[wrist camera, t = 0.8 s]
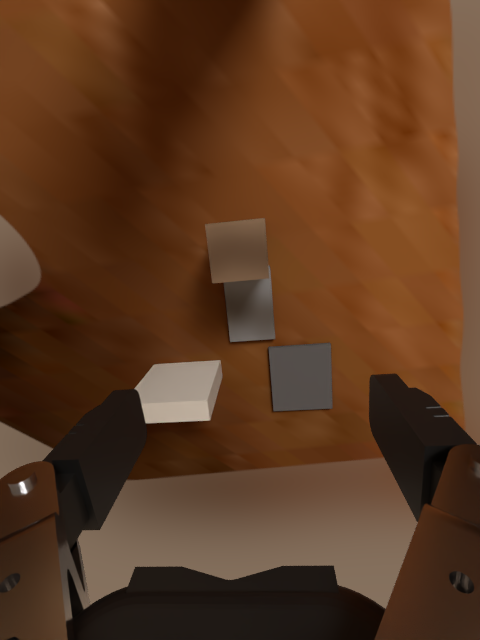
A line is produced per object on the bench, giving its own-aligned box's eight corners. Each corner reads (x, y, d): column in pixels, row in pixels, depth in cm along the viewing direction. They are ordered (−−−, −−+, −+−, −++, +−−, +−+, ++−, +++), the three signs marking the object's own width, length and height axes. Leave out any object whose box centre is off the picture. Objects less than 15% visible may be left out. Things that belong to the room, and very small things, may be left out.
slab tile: (154, 364, 33) (121, 404, 26) (220, 360, 33) (207, 400, 25) (157, 381, 34) (126, 425, 26) (222, 377, 33) (210, 422, 26)
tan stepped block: (218, 225, 29) (202, 224, 21) (266, 220, 29) (267, 217, 21) (230, 339, 32) (220, 374, 24) (274, 336, 32) (278, 371, 24)
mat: (268, 346, 32) (268, 348, 32) (329, 342, 31) (330, 344, 31) (273, 409, 34) (273, 411, 33) (331, 406, 33) (332, 408, 33)
